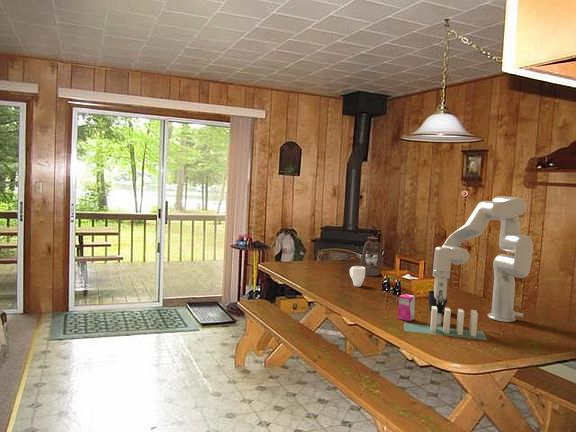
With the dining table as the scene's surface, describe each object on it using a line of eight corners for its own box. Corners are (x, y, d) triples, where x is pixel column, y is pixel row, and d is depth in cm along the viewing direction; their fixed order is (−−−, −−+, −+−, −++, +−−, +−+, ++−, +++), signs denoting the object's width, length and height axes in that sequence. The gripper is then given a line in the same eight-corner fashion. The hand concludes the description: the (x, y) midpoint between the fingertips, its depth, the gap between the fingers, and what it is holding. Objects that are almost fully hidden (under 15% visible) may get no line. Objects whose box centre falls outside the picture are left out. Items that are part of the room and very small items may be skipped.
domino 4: (460, 331, 216) (462, 308, 215) (462, 335, 211) (464, 312, 210) (456, 330, 216) (457, 308, 216) (457, 334, 211) (459, 311, 210)
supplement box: (402, 317, 235) (404, 293, 234) (414, 319, 231) (415, 295, 230) (397, 319, 231) (398, 295, 230) (408, 322, 227) (410, 298, 226)
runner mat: (482, 332, 217) (482, 331, 217) (487, 340, 205) (487, 340, 205) (403, 323, 224) (403, 322, 224) (403, 331, 213) (404, 330, 213)
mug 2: (367, 286, 297) (368, 268, 296) (356, 287, 293) (357, 268, 292) (354, 282, 308) (355, 264, 307) (344, 283, 304) (345, 265, 303)
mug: (437, 315, 240) (438, 296, 239) (424, 309, 252) (425, 290, 251) (452, 315, 242) (453, 296, 242) (438, 308, 254) (439, 290, 253)
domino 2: (439, 322, 229) (441, 301, 229) (440, 325, 224) (442, 304, 223) (435, 321, 230) (436, 300, 229) (436, 325, 224) (437, 303, 224)
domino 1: (434, 328, 218) (436, 306, 217) (435, 332, 213) (437, 309, 212) (430, 327, 219) (431, 305, 218) (431, 331, 213) (432, 309, 213)
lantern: (356, 273, 337) (359, 222, 335) (375, 272, 344) (378, 222, 342) (365, 276, 328) (368, 224, 325) (385, 275, 335) (388, 224, 332)
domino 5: (474, 332, 215) (475, 310, 214) (476, 336, 209) (477, 313, 209) (469, 332, 215) (471, 309, 214) (471, 335, 210) (472, 313, 209)
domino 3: (447, 329, 217) (449, 307, 216) (449, 333, 212) (450, 310, 211) (443, 329, 218) (444, 307, 217) (444, 333, 212) (445, 310, 211)
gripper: (451, 278, 216) (448, 316, 217) (447, 271, 233) (444, 307, 234) (434, 276, 217) (430, 314, 219) (431, 269, 234) (428, 305, 235)
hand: (437, 310), depth 226 cm, fingers open, 9 cm apart
